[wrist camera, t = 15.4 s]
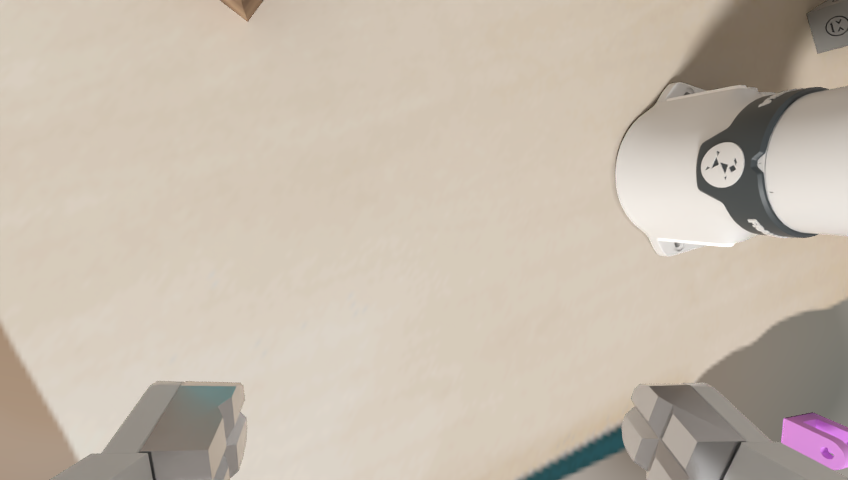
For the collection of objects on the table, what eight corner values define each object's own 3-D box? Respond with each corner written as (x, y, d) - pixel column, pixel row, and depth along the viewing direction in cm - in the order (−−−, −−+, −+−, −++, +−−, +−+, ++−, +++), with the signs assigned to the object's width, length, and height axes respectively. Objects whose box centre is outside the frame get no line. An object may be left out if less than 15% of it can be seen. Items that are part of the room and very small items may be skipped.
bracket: (783, 418, 57) (847, 447, 51) (812, 412, 59) (877, 440, 52) (773, 506, 59) (834, 546, 52) (802, 498, 60) (864, 536, 54)
